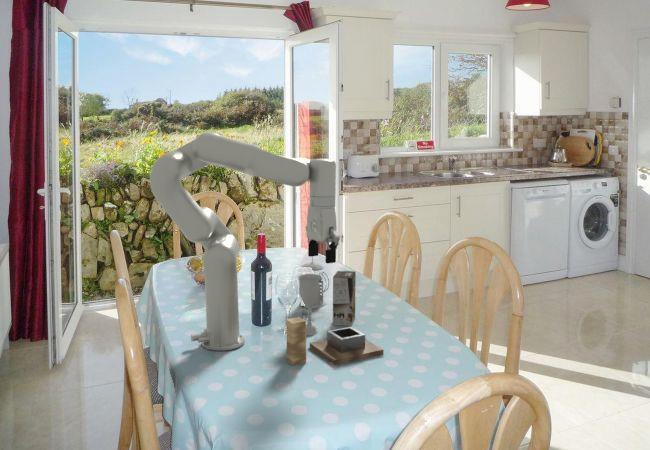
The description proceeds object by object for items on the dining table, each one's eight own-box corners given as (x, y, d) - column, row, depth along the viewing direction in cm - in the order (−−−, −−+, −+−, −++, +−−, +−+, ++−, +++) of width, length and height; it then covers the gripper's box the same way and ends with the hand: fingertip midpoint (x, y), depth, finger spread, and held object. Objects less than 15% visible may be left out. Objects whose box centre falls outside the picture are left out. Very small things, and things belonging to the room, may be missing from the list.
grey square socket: (341, 353, 178) (341, 339, 178) (327, 344, 185) (327, 331, 185) (365, 348, 182) (365, 334, 182) (350, 339, 189) (350, 326, 188)
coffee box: (351, 326, 205) (352, 278, 202) (332, 325, 206) (332, 276, 203) (356, 317, 214) (356, 270, 211) (337, 316, 215) (337, 270, 212)
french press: (309, 298, 235) (309, 232, 231) (335, 303, 229) (335, 235, 224) (293, 305, 228) (292, 236, 223) (319, 310, 221) (319, 240, 216)
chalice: (303, 337, 195) (303, 281, 192) (294, 331, 201) (293, 275, 198) (324, 333, 198) (324, 277, 195) (315, 327, 204) (314, 273, 201)
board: (334, 365, 174) (334, 360, 174) (309, 347, 187) (309, 342, 186) (383, 354, 181) (383, 349, 181) (355, 338, 194) (356, 333, 194)
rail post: (293, 365, 174) (292, 323, 172) (286, 360, 177) (286, 319, 175) (306, 362, 176) (305, 321, 174) (299, 357, 179) (299, 317, 177)
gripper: (296, 198, 189) (296, 254, 192) (327, 206, 174) (326, 267, 177) (318, 197, 193) (317, 252, 196) (349, 204, 178) (348, 264, 181)
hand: (321, 259), depth 187 cm, fingers open, 9 cm apart
